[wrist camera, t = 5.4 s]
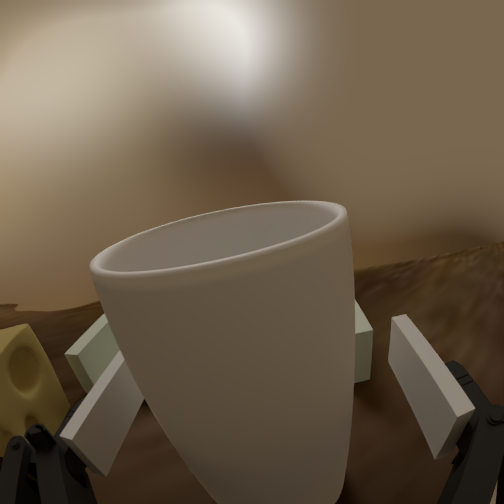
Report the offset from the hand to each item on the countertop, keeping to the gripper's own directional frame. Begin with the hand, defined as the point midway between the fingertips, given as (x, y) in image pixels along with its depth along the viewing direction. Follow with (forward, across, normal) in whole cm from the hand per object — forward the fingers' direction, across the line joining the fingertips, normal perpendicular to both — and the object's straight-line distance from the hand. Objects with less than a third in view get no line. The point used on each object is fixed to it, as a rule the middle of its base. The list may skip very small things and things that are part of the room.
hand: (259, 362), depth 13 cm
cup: (-2, 0, -9) cm, 9 cm away
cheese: (-1, -25, -9) cm, 27 cm away
